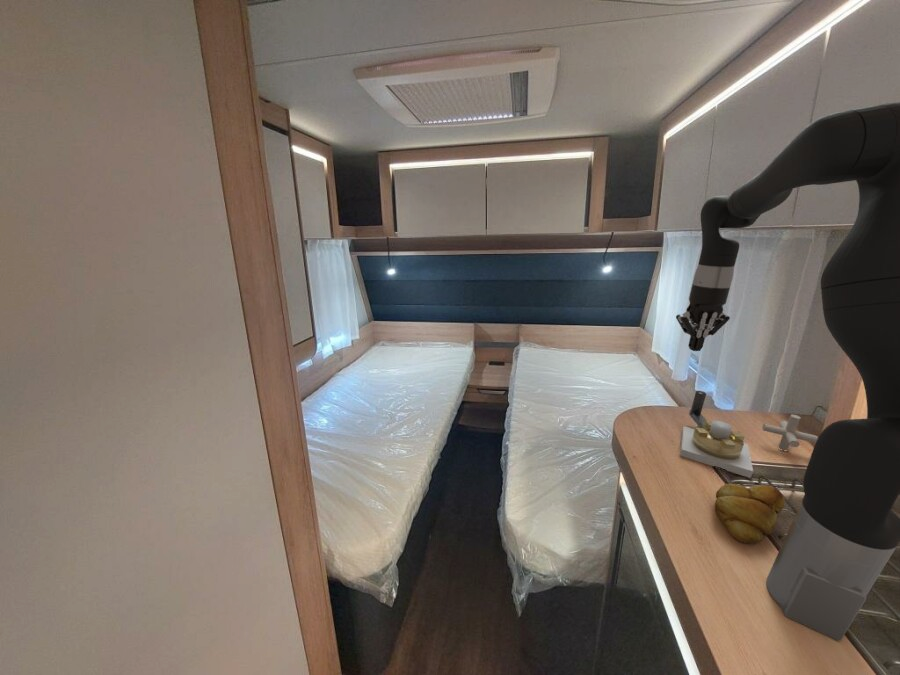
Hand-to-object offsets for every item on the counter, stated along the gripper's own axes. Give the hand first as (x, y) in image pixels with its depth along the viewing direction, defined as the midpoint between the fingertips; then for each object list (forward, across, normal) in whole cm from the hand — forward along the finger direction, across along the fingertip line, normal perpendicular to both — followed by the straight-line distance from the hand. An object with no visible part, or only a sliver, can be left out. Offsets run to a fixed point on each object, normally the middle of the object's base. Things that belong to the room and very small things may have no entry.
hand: (694, 349), depth 89 cm
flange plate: (+25, +3, -10) cm, 27 cm away
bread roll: (+26, -8, -30) cm, 40 cm away
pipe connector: (+25, +23, -10) cm, 35 cm away
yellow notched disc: (+23, +4, -6) cm, 24 cm away
